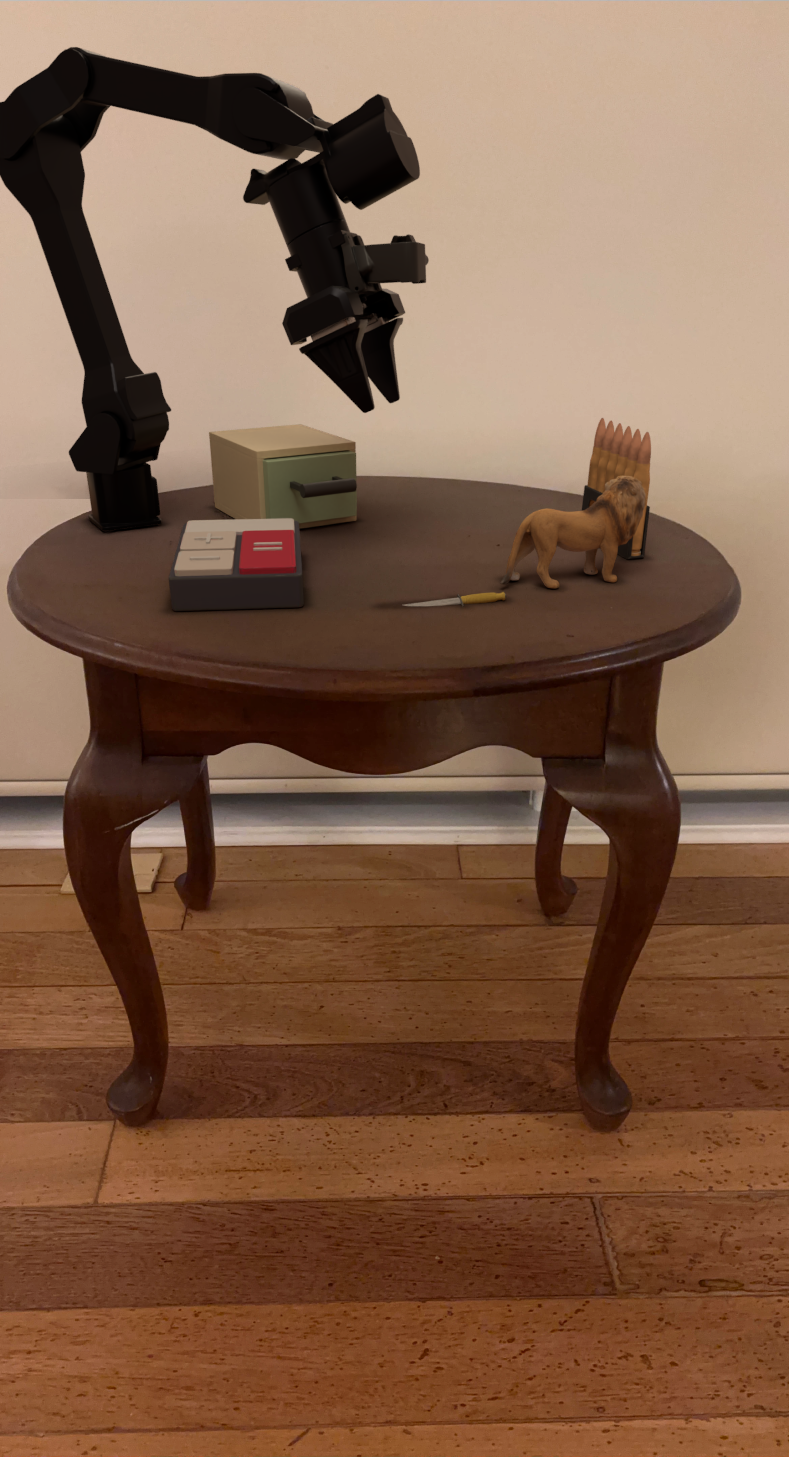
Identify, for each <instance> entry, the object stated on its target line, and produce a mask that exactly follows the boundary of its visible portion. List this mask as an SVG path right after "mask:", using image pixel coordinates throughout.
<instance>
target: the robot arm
mask: <svg viewBox="0 0 789 1457" xmlns="http://www.w3.org/2000/svg"><path fill="white" fill-rule="evenodd" d="M111 107H114V108H118V109H123V110H127V111H131V112H136V113H140V114H143V115H149V116H153V117H158V118H162V119H165V120H166V119H167V120H170V121H174V122H179V123H182V124H183V123H184V124H188V125H193V126H195V127H198V128H200V129H202V130H204V131H205V132H208V133H209V134H211V135H213V136H214V137H216V138H218V139H219V140H221V141H224V142H226V143H228V144H230V145H232V146H235V147H236V148H238V149H241V150H243V151H245V152H247V153H250V154H253V155H257V156H263V157H267V158H271V159H277V160H283V161H284V162H282V163H280V164H279V165H277V166H276V167H273V168H272V169H271V170H269V171H266V170H264V169H259V168H252V169H251V170H250V176H249V181H248V183H247V185H246V188H245V190H244V193H243V195H242V200H243V202H244V203H246V204H251V205H261V206H265V205H267V204H269V205H270V207H271V209H272V213H273V214H274V217H275V220H276V222H277V225H278V227H279V231H280V232H281V235H282V237H283V240H284V242H285V245H286V247H287V250H288V252H289V255H290V256H288V257H287V258H285V259H284V261H285V264H286V266H287V268H288V271H289V272H296V273H297V276H298V277H299V280H300V283H301V286H302V288H303V290H304V293H305V296H306V298H304V299H302V300H300V301H298V302H296V303H294V304H292V305H290V306H288V307H287V308H286V310H285V312H284V316H283V320H282V322H281V325H282V327H283V330H284V331H285V332H284V333H285V335H286V337H287V339H288V341H289V343H290V346H295V345H296V346H297V345H302V344H304V345H303V346H300V347H299V348H298V351H299V352H300V353H301V355H304V356H306V357H307V358H308V359H309V360H310V361H311V362H312V363H313V364H314V365H315V366H316V367H317V368H318V369H319V370H320V371H321V372H323V373H324V375H325V376H327V378H329V380H330V381H331V382H332V383H334V384H335V385H336V387H338V389H339V390H341V392H342V393H343V394H344V395H345V396H346V397H347V398H348V399H349V400H350V401H351V402H352V403H353V404H354V405H355V406H356V407H357V408H358V409H359V410H360V412H362V413H364V414H367V413H369V412H371V411H374V410H375V407H376V405H375V402H374V397H373V392H372V388H371V384H370V381H371V382H372V384H373V385H374V386H375V388H376V389H377V390H378V391H379V393H380V394H381V395H382V396H383V397H384V399H385V400H386V401H387V402H388V404H394V403H396V402H398V401H399V400H400V399H401V394H400V388H399V379H398V371H397V364H396V363H397V362H396V354H395V338H396V335H397V333H398V332H399V329H400V327H401V325H403V322H404V317H401V316H404V315H405V314H406V310H405V307H404V305H403V302H402V299H401V296H400V294H399V293H397V292H395V291H393V290H390V289H389V288H382V285H381V284H391V283H392V284H394V283H395V284H396V283H401V284H404V283H411V284H413V285H416V284H417V285H419V284H426V283H427V265H428V264H429V256H428V255H427V254H426V244H425V243H421V242H418V241H417V240H416V239H415V237H414V235H412V234H409V233H408V234H406V235H396V234H395V235H393V236H392V238H391V241H390V242H386V243H374V244H365V243H364V240H363V238H362V236H361V235H359V234H358V233H355V232H351V230H350V227H349V225H348V223H347V220H346V217H345V214H344V211H343V209H342V206H341V204H340V202H342V204H345V205H347V204H350V203H351V204H352V205H353V207H355V208H356V209H358V210H360V211H362V210H365V209H366V208H368V207H370V206H371V205H374V204H376V203H377V202H379V201H380V200H382V199H384V198H387V197H388V196H390V195H391V194H393V193H395V192H397V191H399V190H401V189H403V188H404V187H406V186H408V185H410V184H411V183H413V182H415V181H417V180H418V179H420V176H421V168H420V163H419V162H420V161H419V157H418V154H417V151H416V147H415V145H414V142H413V138H412V137H411V136H408V133H407V131H406V130H405V127H404V125H403V123H402V122H401V120H400V118H399V117H398V115H396V113H395V111H394V110H393V107H392V104H391V102H390V98H389V97H387V96H384V95H382V94H380V93H377V94H375V95H373V96H372V97H370V98H369V99H367V100H366V101H364V103H363V104H362V105H361V106H360V107H358V108H357V109H356V110H354V111H353V112H351V113H349V114H348V115H345V116H344V117H343V118H341V119H340V120H338V121H336V122H335V123H332V122H329V121H326V120H325V119H324V118H322V117H321V116H319V115H317V114H315V113H314V110H313V106H312V103H311V102H310V100H309V97H307V93H306V92H305V91H303V90H302V89H301V88H300V87H298V86H296V85H293V84H291V83H289V82H286V81H283V80H281V79H278V78H275V77H272V76H269V75H266V74H264V73H260V72H243V73H242V72H235V73H221V74H215V75H210V76H209V75H208V76H198V75H197V76H196V75H192V74H186V73H182V72H178V71H174V70H168V69H164V68H159V67H155V66H151V65H145V64H141V63H136V62H131V61H128V60H123V59H118V58H114V57H108V56H106V55H103V54H101V53H97V52H95V51H90V50H87V49H85V48H81V47H78V46H70V47H68V48H65V49H64V50H62V51H61V52H59V53H58V55H57V56H56V57H55V58H54V60H53V61H52V62H51V63H50V64H49V66H47V68H45V69H43V70H42V71H40V72H39V73H37V74H35V75H34V76H32V77H30V78H29V79H28V80H26V81H24V82H23V83H21V84H20V85H18V86H17V87H15V88H14V89H13V90H12V91H11V92H10V94H9V95H8V96H7V97H6V99H5V100H4V101H0V180H1V181H2V183H3V185H4V186H5V188H6V189H7V190H8V191H9V192H10V194H11V195H12V196H13V197H14V198H15V199H16V201H17V202H18V203H19V204H20V206H21V207H22V208H23V209H24V210H25V211H26V213H27V214H28V215H29V217H30V219H31V221H32V223H33V226H34V229H35V231H36V235H37V237H38V240H39V243H40V246H41V249H42V252H43V254H44V256H45V257H44V258H45V260H46V264H47V266H48V269H49V272H50V275H51V277H52V281H53V283H54V287H55V289H56V292H57V295H58V298H59V300H60V303H61V306H62V309H63V312H64V315H65V318H66V320H67V323H68V326H69V329H70V332H71V335H72V338H73V341H74V344H75V346H76V349H77V353H78V355H79V358H80V361H81V363H82V367H83V371H84V376H83V383H82V393H81V406H82V411H83V415H84V421H85V425H86V426H85V428H84V430H83V431H82V432H81V434H80V435H79V436H78V438H77V439H76V440H75V441H74V443H73V444H72V446H71V447H70V449H69V450H68V455H69V458H70V460H71V463H72V464H73V467H74V469H75V471H76V472H79V473H85V474H86V482H87V487H88V488H87V489H88V494H89V495H88V496H89V501H90V509H91V513H90V514H88V520H89V521H90V522H92V523H93V524H94V525H95V526H96V527H97V528H99V529H100V530H101V531H102V532H111V531H119V530H127V529H136V528H141V527H150V526H156V525H157V526H158V525H161V524H163V522H162V518H160V517H159V516H160V515H161V505H160V496H159V487H158V479H157V478H156V477H155V476H153V475H152V469H151V468H152V467H151V464H149V463H150V462H155V461H157V460H158V458H159V455H160V454H159V453H160V449H161V446H162V443H163V442H164V440H165V439H166V436H167V434H168V432H169V430H170V420H169V415H168V413H169V412H172V408H171V406H170V405H169V404H168V402H167V400H166V398H165V396H164V392H163V386H162V381H161V377H160V376H159V374H158V372H156V371H152V372H148V373H147V372H145V373H144V372H143V371H142V369H141V368H140V367H139V366H138V365H137V364H136V362H135V361H134V360H133V357H132V355H131V353H130V350H129V346H128V344H127V341H126V338H125V335H124V332H123V328H122V325H121V322H120V320H119V317H118V313H117V310H116V308H115V304H114V302H113V299H112V295H111V292H110V289H109V285H108V283H107V280H106V277H105V274H104V271H103V268H102V265H101V261H100V258H99V256H98V252H97V250H96V247H95V244H94V241H93V238H92V235H91V231H90V229H89V226H88V223H87V218H86V217H85V214H84V210H83V197H84V187H85V180H86V172H85V167H84V160H83V156H82V152H83V150H85V148H87V146H88V145H89V144H90V143H91V142H92V141H93V140H94V138H95V137H96V136H97V133H98V131H99V127H100V126H101V122H102V119H103V116H104V114H105V113H106V112H107V110H108V109H109V108H111ZM305 151H309V152H312V153H313V152H314V153H317V154H316V155H314V156H312V157H311V158H309V159H307V160H305V161H304V162H301V161H299V160H298V158H299V157H300V156H301V155H302V154H303V153H304V152H305ZM339 200H340V201H339ZM309 337H310V338H311V342H309V343H306V342H308V339H307V338H309ZM305 343H306V344H305ZM148 462H149V463H148Z"/></svg>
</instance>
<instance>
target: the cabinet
mask: <svg viewBox="0 0 789 1457" xmlns="http://www.w3.org/2000/svg"><path fill="white" fill-rule="evenodd" d="M208 437H209V450H210V463H211V474H212V485H213V486H212V487H213V498H214V499H213V500H214V508H216V509H217V510H219V511H221V512H222V513H224V514H226V515H228V516H229V517H231V518H233V519H234V520H235V519H266V508H265V491H264V473H263V460H264V459H266V458H276V457H286V456H295V455H305V454H315V453H325V452H335V451H339V452H346V451H352V452H355V453H356V454H357V450H356V448H357V445H356V443H357V442H356V441H354V440H352V439H351V440H350V439H349V438H344V437H342V436H338V435H335V434H332V433H330V432H326V431H323V430H321V429H318V428H314V427H311V426H308V425H304V424H301V423H298V424H286V425H285V424H284V425H275V426H274V425H273V426H264V427H263V426H262V427H261V426H260V427H252V428H239V429H227V430H217V431H216V430H215V431H208ZM349 522H357V516H350V517H343V518H336V519H329V520H321V521H314V522H307V523H300V524H299V530H301V529H308V528H315V527H320V526H329V525H334V524H335V525H337V524H343V523H349Z"/></svg>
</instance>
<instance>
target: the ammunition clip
mask: <svg viewBox="0 0 789 1457" xmlns="http://www.w3.org/2000/svg"><path fill="white" fill-rule="evenodd" d="M631 428H632V427H631V426H630V425H628V426H626V428H625V429H623V426H622V423H618V424H617V426H616V428H615V425H614V422H613V420H609V422H608V423H607V425H606V422H605V418H604V417H601V418H600V420H599V422H598V424H597V426H596V430H595V434H594V439H593V446H592V452H591V457H590V460H589V467H588V475H587V484H586V485H584V486H583V494H582V502H581V503H582V504H581V511H583V510H585V509H587V508H589V507H590V506H592V504H593V503H594V502H596V500H597V498H598V497H599V496H601V495H602V494H603V493H604V492H605V484H606V483H607V482H610V480H612V479H616V478H617V477H618V476H632V477H634V478H636V479H638V480H639V481H640V482H641V483H642V487H643V488H644V490H645V496H646V505H645V507H644V510H643V516H642V518H641V520H640V522H639V525H638V527H637V530H636V533H635V535H633V537H632V538H631V539H630V540H629V541H628V542H627V543H626V544H623V545H620V546H618V552H617V556H620V557H622V558H623V559H626V560H635V559H644V558H645V552H646V544H647V537H648V536H647V535H648V528H649V527H648V526H649V518H650V510H651V506H649V505H648V499H649V491H650V484H651V473H650V472H651V457H652V441H651V436H650V433H649V431H646V432H645V433H644V435H643V437H642V434H641V431H640V428H637V429H635V431H634V433H632V429H631Z"/></svg>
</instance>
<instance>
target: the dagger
mask: <svg viewBox="0 0 789 1457" xmlns="http://www.w3.org/2000/svg"><path fill="white" fill-rule="evenodd" d="M506 599H507V593H505V591H501V592H499V593H497V592H481V593H473V594H467V595H462V596H461V595H460V594H459V593H457V594H456V597H451V598H443V599H436V600H429V601H422V602H412V603H407V604H403V606H405V607H442V606H456V605H457V606H459V605H460V606H461V608H462V607H464V605H470V604H476V605H477V604H486V603H496V602H497V601H505V600H506Z"/></svg>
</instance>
